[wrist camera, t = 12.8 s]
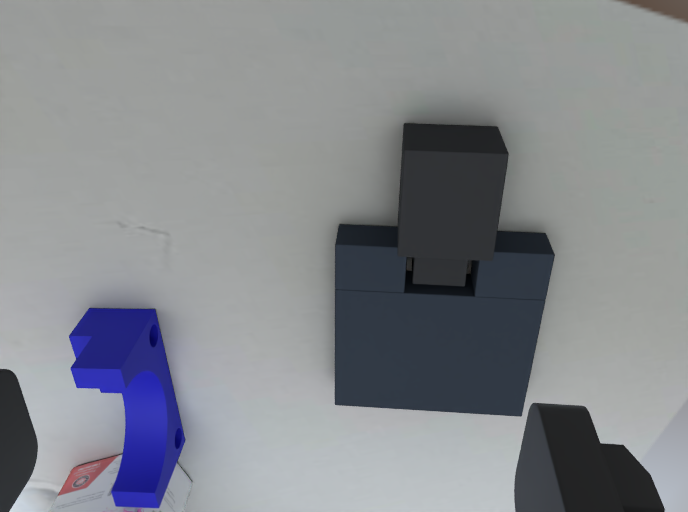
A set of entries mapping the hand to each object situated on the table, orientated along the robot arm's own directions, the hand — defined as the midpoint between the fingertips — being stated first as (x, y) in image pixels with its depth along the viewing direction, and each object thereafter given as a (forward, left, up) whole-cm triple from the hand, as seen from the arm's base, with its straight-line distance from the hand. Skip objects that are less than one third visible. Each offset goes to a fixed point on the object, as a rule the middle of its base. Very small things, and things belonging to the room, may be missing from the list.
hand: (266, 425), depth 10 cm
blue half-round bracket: (+23, -15, -26) cm, 38 cm away
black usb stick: (+8, +5, -26) cm, 28 cm away
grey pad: (+16, +5, -26) cm, 31 cm away
